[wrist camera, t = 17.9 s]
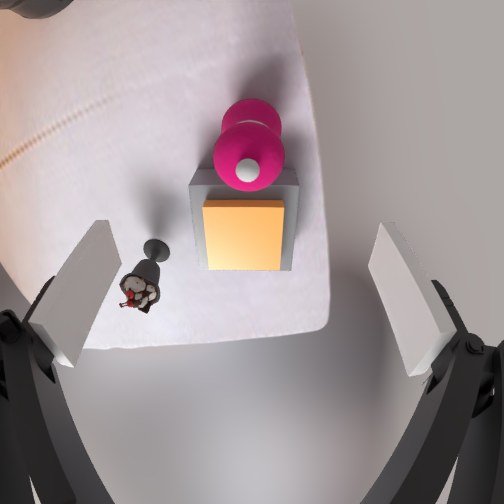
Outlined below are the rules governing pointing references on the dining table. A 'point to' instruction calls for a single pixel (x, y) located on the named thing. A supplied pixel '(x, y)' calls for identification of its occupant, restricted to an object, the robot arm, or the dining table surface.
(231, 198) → the breaker box
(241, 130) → the pepper mill
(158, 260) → the sundae
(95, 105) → the dining table surface
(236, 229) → the button
